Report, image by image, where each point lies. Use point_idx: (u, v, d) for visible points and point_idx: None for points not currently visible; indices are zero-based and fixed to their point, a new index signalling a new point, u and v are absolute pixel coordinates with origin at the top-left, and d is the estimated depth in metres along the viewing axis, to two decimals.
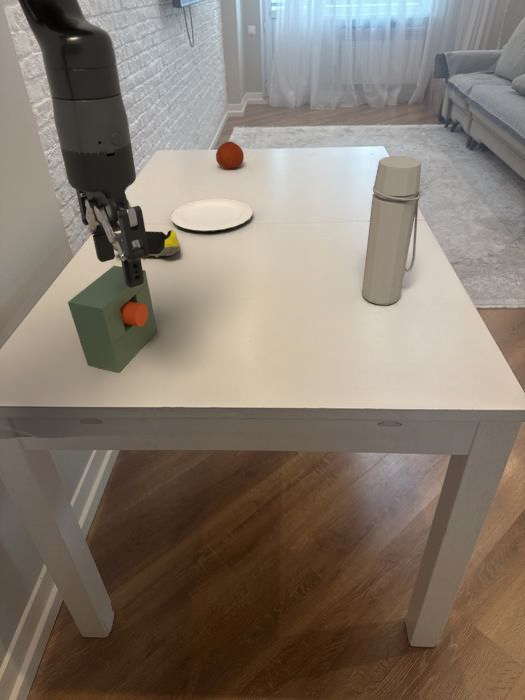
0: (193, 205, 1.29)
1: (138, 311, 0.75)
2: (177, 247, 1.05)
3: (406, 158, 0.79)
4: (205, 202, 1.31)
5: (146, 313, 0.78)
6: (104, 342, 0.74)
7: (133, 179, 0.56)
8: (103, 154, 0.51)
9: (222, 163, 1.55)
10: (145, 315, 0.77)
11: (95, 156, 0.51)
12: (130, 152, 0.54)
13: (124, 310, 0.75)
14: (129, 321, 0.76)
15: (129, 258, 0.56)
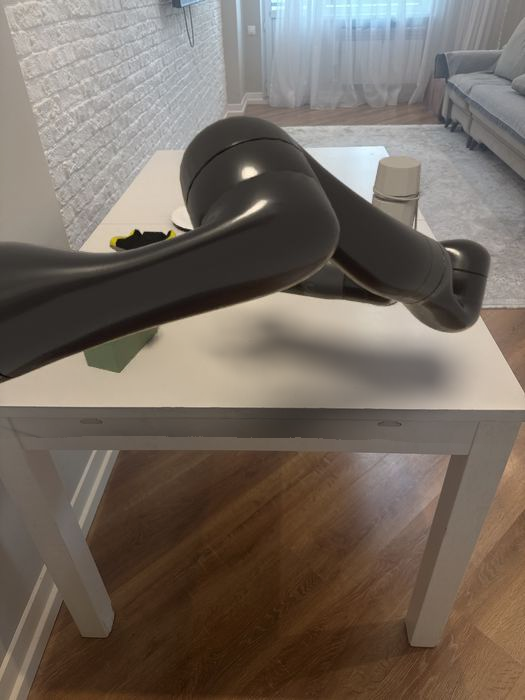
0: None
1: None
2: None
3: (406, 158, 0.79)
4: None
5: None
6: None
7: None
8: None
9: None
10: None
11: None
12: (297, 294, 0.61)
13: None
14: None
15: None
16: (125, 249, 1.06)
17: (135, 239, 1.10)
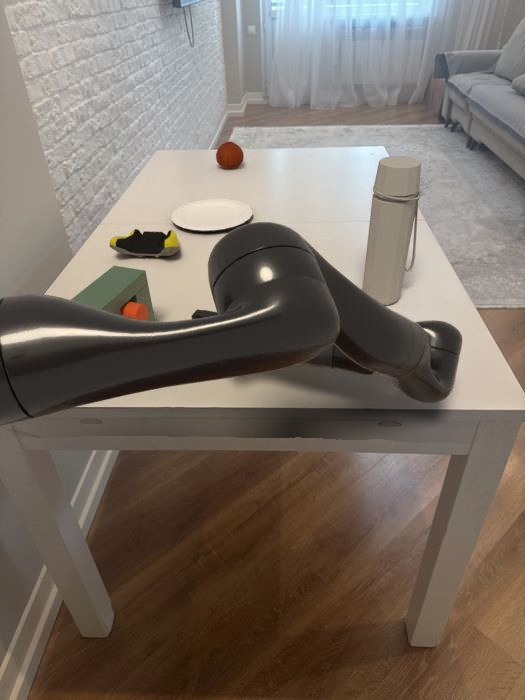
0: (193, 205, 1.29)
1: (138, 311, 0.75)
2: (177, 247, 1.05)
3: (406, 158, 0.79)
4: (205, 202, 1.31)
5: (146, 313, 0.78)
6: None
7: None
8: None
9: (222, 163, 1.55)
10: (145, 315, 0.77)
11: None
12: None
13: (124, 310, 0.75)
14: None
15: None
16: (125, 249, 1.06)
17: (135, 239, 1.10)
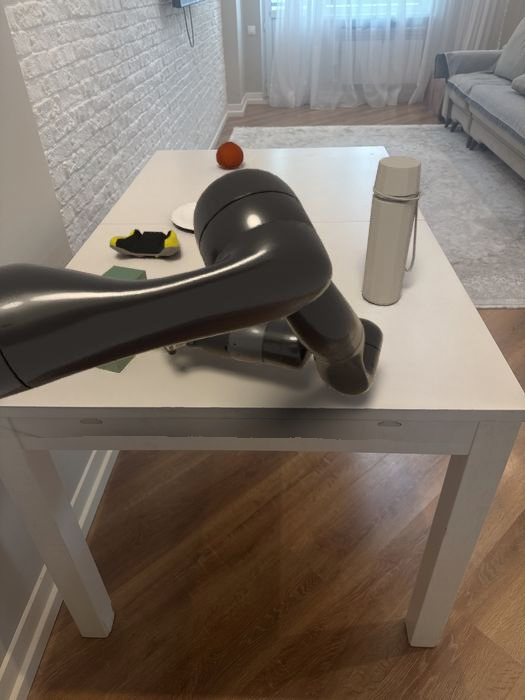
0: (193, 205, 1.29)
1: None
2: (177, 247, 1.05)
3: (406, 158, 0.79)
4: None
5: None
6: None
7: None
8: (226, 343, 0.69)
9: (222, 163, 1.55)
10: None
11: (226, 337, 0.68)
12: None
13: None
14: None
15: None
16: (125, 249, 1.06)
17: (135, 239, 1.10)
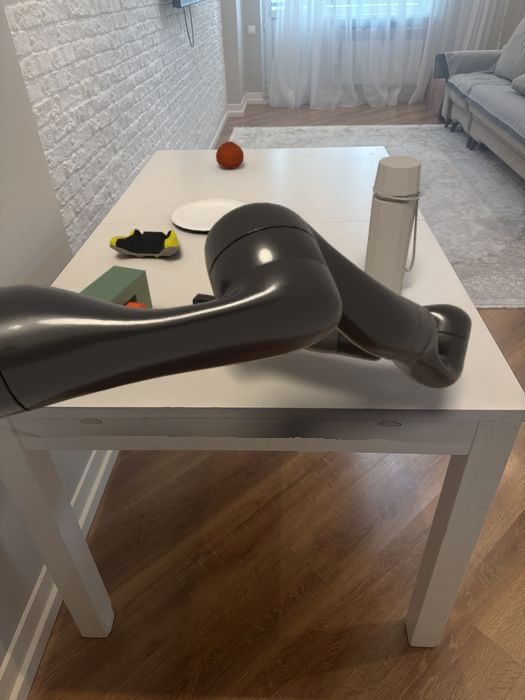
0: (193, 205, 1.29)
1: None
2: (177, 247, 1.05)
3: (406, 158, 0.79)
4: (205, 202, 1.31)
5: None
6: None
7: None
8: None
9: (222, 163, 1.55)
10: None
11: None
12: None
13: None
14: None
15: None
16: (125, 249, 1.06)
17: (135, 239, 1.10)
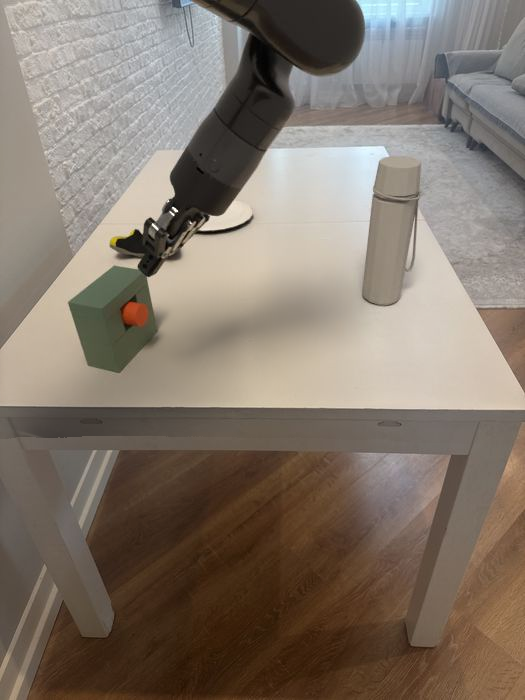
0: None
1: (138, 311, 0.75)
2: None
3: (406, 158, 0.79)
4: None
5: (146, 313, 0.78)
6: (104, 342, 0.74)
7: (204, 209, 0.54)
8: (195, 164, 0.52)
9: None
10: (145, 315, 0.77)
11: (190, 160, 0.52)
12: (221, 191, 0.53)
13: (124, 310, 0.75)
14: (129, 321, 0.76)
15: None
16: (125, 249, 1.06)
17: (135, 239, 1.10)
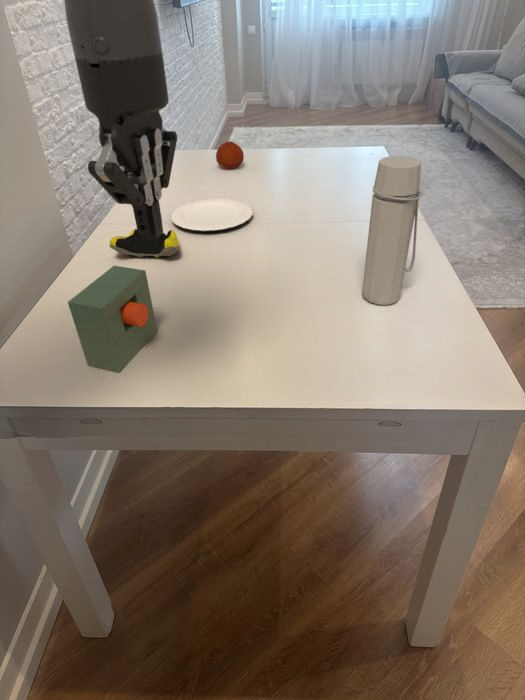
0: (193, 205, 1.29)
1: (138, 311, 0.75)
2: (177, 247, 1.05)
3: (406, 158, 0.79)
4: (205, 202, 1.31)
5: (146, 313, 0.78)
6: (104, 342, 0.74)
7: (134, 108, 0.42)
8: (86, 63, 0.41)
9: (222, 163, 1.55)
10: (145, 315, 0.77)
11: (81, 65, 0.41)
12: (132, 70, 0.41)
13: (124, 310, 0.75)
14: (129, 321, 0.76)
15: None
16: (125, 249, 1.06)
17: (135, 239, 1.10)
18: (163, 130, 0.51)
